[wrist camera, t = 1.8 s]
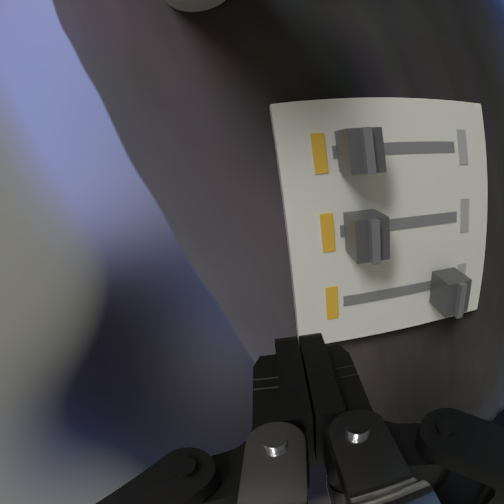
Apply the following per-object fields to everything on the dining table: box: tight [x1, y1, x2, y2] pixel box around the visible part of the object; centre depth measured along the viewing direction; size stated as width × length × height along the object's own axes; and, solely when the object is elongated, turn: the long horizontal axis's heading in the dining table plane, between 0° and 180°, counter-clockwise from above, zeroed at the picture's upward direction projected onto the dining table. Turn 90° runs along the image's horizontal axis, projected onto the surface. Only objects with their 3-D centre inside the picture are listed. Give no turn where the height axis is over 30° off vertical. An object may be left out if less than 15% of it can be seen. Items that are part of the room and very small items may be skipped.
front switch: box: [334, 127, 387, 175], centre depth 19 cm, size 2×3×4 cm
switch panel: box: [269, 98, 487, 344], centre depth 24 cm, size 19×20×2 cm
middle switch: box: [343, 209, 390, 265], centre depth 21 cm, size 2×3×4 cm
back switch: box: [429, 267, 472, 319], centre depth 23 cm, size 2×3×4 cm
